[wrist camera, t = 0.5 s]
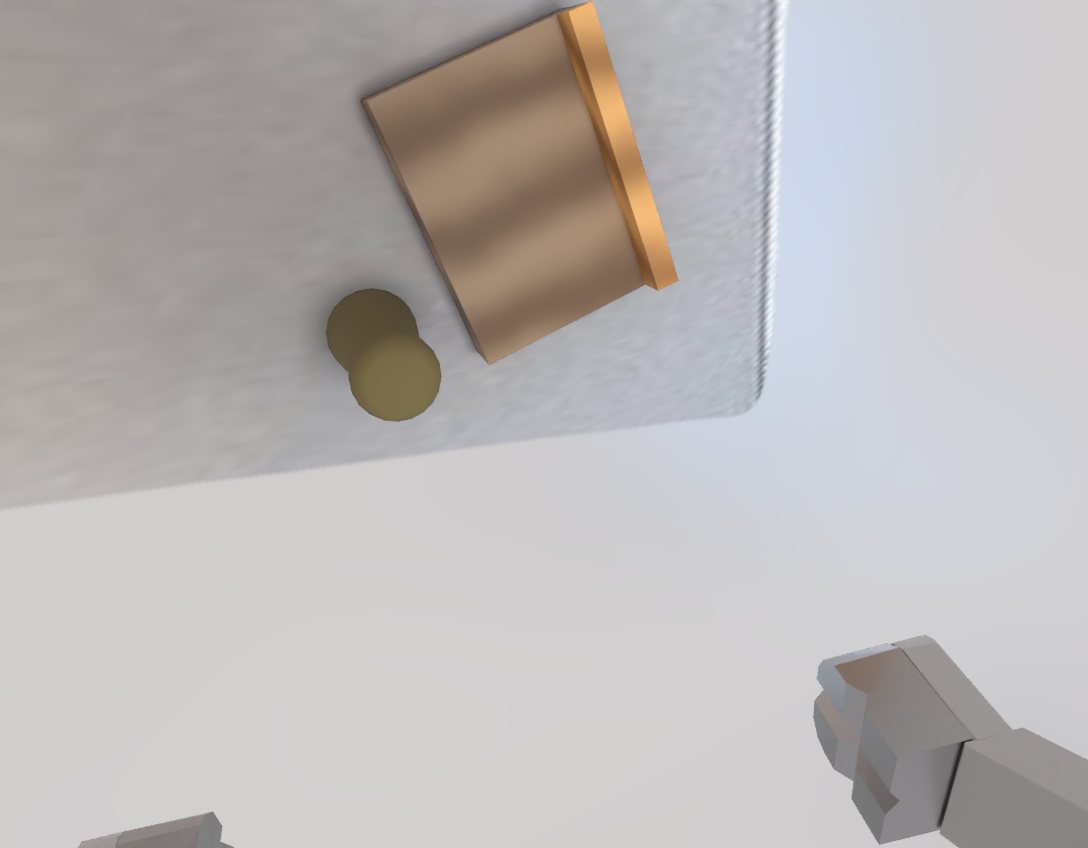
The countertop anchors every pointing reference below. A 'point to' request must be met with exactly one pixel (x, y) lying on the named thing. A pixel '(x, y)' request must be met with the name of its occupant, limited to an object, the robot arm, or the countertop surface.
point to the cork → (383, 355)
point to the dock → (526, 180)
